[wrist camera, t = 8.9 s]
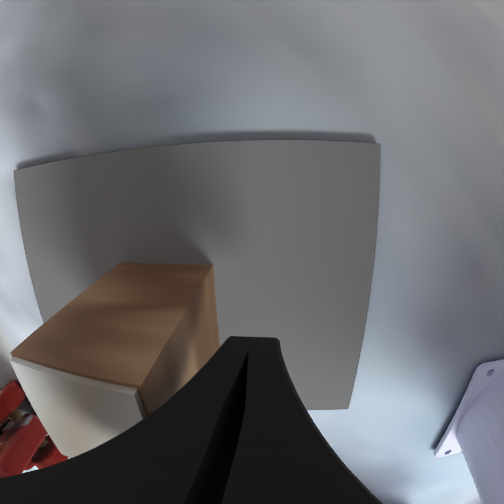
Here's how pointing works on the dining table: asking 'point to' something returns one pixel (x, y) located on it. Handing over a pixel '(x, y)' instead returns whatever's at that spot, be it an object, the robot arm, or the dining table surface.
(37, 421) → the toy fire truck
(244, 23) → the dining table surface
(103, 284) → the walnut block
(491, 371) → the robot arm
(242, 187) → the rubber mat
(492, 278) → the dining table surface
